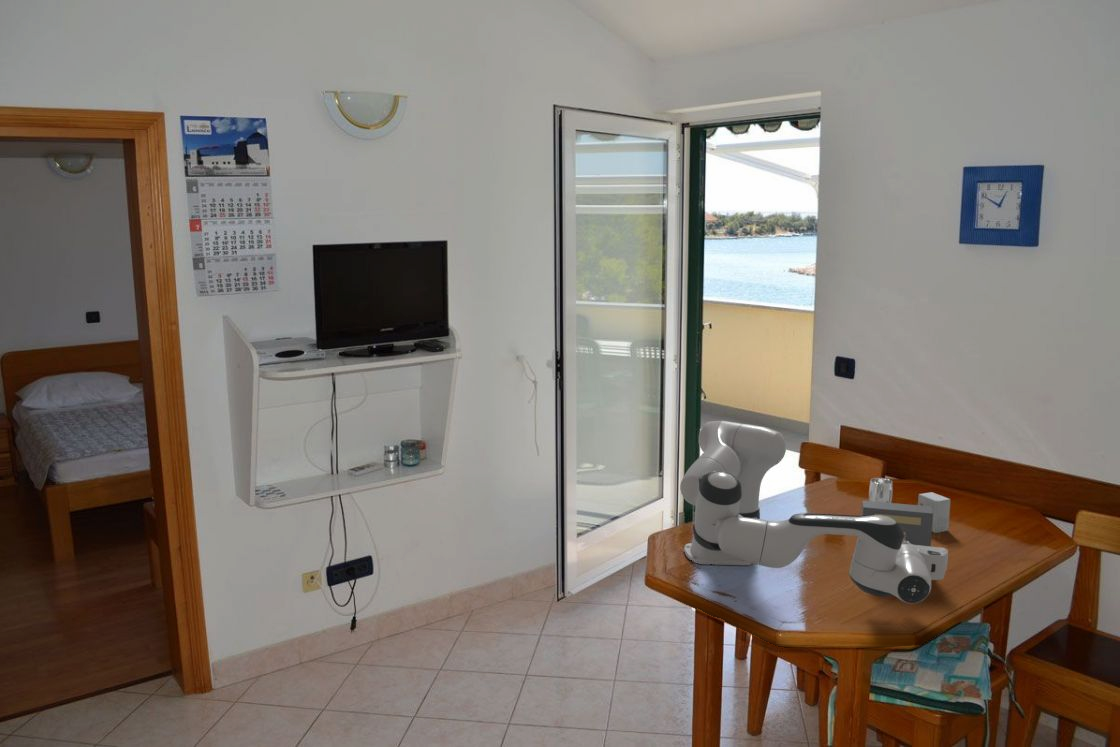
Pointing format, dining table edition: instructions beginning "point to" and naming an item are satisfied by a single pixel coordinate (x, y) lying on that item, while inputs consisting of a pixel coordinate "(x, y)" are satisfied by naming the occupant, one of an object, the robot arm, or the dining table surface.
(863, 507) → the control block
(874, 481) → the beer glass
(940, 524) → the small box
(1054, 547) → the dining table surface
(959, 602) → the dining table surface
